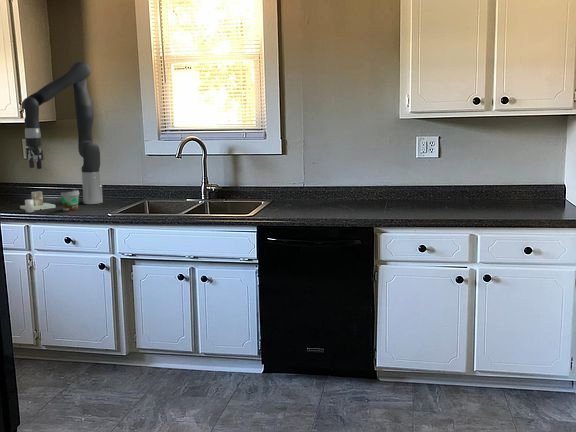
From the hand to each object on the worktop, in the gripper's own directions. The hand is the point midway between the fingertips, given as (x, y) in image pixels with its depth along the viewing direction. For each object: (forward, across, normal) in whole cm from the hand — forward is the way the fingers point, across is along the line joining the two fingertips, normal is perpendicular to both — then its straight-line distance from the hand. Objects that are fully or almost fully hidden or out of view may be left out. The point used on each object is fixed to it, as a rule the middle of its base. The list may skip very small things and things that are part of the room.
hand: (35, 168), depth 344 cm
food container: (+21, -22, -8) cm, 31 cm away
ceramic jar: (+21, -9, +9) cm, 24 cm away
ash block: (+19, -1, +1) cm, 19 cm away
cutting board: (+21, -1, +1) cm, 21 cm away
